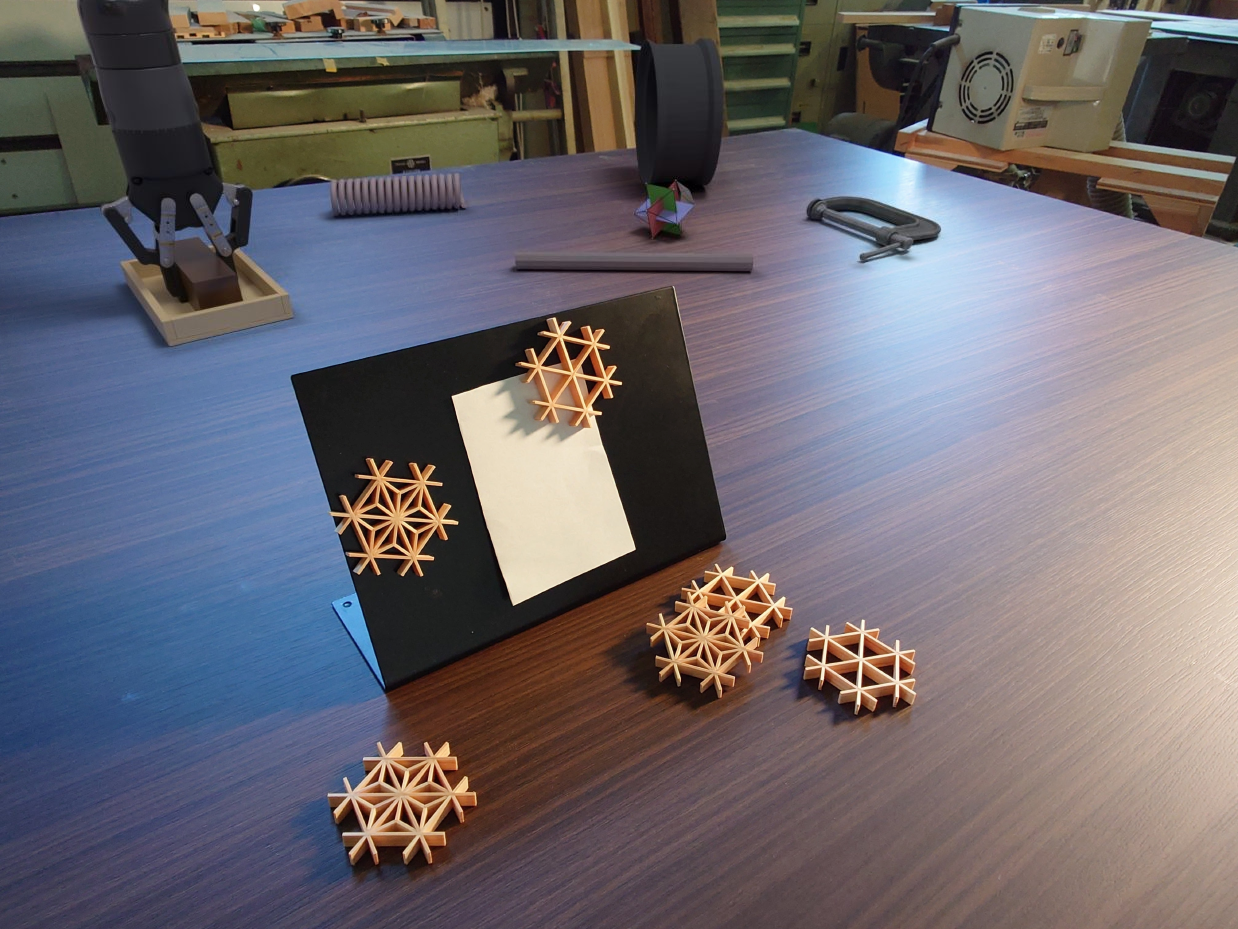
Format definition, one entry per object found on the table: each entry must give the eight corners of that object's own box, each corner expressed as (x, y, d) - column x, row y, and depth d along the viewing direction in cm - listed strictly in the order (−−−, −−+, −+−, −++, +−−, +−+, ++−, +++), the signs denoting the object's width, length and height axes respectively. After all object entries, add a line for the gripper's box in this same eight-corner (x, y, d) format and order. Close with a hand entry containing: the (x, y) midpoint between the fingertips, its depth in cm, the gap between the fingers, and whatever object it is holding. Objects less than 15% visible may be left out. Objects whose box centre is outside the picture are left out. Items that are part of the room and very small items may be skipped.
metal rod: (752, 273, 93) (753, 256, 92) (515, 271, 92) (514, 254, 91) (749, 267, 94) (751, 251, 93) (517, 265, 94) (516, 249, 93)
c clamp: (970, 244, 102) (975, 222, 101) (862, 263, 96) (866, 240, 95) (865, 202, 117) (868, 183, 116) (766, 216, 111) (768, 196, 110)
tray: (169, 346, 75) (161, 321, 74) (126, 283, 88) (119, 261, 87) (294, 317, 81) (288, 293, 80) (237, 262, 94) (231, 241, 93)
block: (204, 322, 79) (192, 282, 76) (169, 279, 88) (158, 243, 86) (246, 312, 81) (236, 274, 79) (208, 271, 90) (198, 236, 88)
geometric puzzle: (662, 233, 98) (687, 171, 98) (617, 221, 101) (641, 161, 101) (686, 255, 104) (709, 197, 104) (643, 244, 107) (665, 187, 107)
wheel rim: (716, 201, 117) (728, 47, 106) (655, 203, 116) (660, 47, 105) (687, 167, 134) (695, 30, 122) (633, 168, 132) (635, 30, 121)
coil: (325, 187, 105) (465, 179, 109) (326, 174, 108) (461, 167, 112) (332, 221, 108) (468, 213, 112) (333, 208, 111) (464, 200, 115)
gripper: (223, 104, 81) (263, 269, 90) (60, 120, 74) (123, 298, 83) (246, 116, 76) (286, 289, 85) (73, 134, 69) (138, 322, 78)
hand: (205, 293), depth 84 cm, fingers closed on block, 4 cm apart
